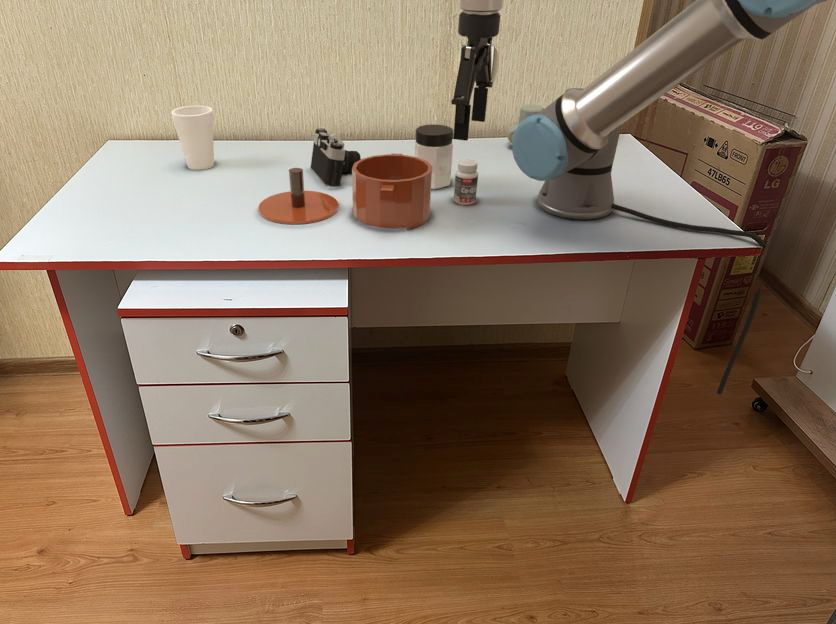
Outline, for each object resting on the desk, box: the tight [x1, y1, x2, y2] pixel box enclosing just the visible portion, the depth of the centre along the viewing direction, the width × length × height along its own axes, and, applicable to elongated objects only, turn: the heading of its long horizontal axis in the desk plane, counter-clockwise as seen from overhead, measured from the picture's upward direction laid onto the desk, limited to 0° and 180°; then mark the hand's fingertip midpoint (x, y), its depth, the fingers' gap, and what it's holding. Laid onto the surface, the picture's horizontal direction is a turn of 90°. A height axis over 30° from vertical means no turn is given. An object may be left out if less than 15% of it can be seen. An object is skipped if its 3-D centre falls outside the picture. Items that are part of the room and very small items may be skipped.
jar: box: [414, 124, 454, 190], centre depth 142 cm, size 9×8×12 cm
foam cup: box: [170, 105, 215, 171], centre depth 153 cm, size 10×9×13 cm
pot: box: [351, 153, 432, 230], centre depth 128 cm, size 16×21×10 cm
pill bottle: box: [453, 159, 479, 206], centre depth 134 cm, size 5×5×8 cm
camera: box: [310, 126, 362, 188], centre depth 147 cm, size 15×11×10 cm
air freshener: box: [506, 104, 545, 146], centre depth 163 cm, size 11×8×10 cm
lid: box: [257, 167, 339, 225], centre depth 130 cm, size 17×17×9 cm
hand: (469, 129), depth 128 cm, fingers open, 13 cm apart
